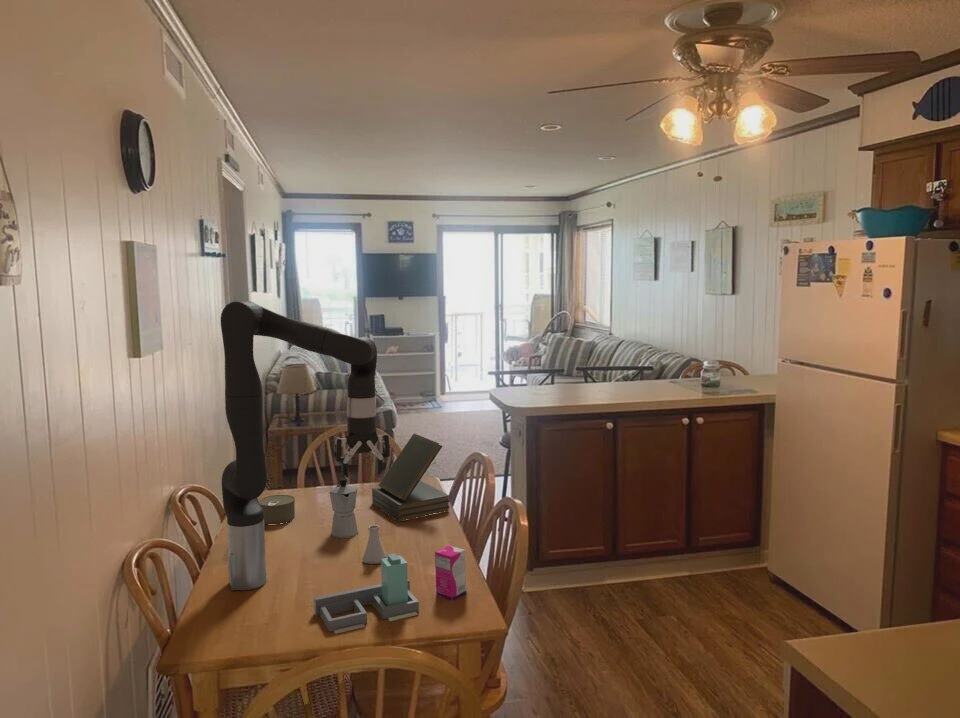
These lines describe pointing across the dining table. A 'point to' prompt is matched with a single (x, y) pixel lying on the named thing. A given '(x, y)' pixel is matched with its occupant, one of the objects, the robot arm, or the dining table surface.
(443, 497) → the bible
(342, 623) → the socket panel
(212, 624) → the dining table surface
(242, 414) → the robot arm
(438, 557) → the supplement box
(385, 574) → the plug
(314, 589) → the dining table surface
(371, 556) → the flask
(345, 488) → the coffee maker
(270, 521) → the can
